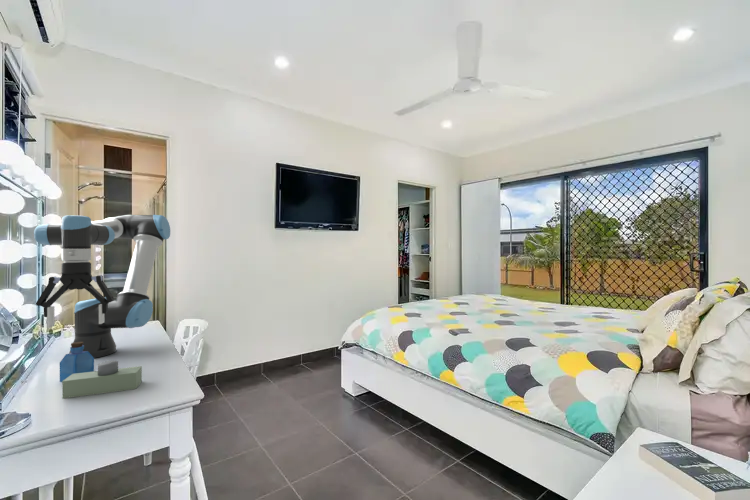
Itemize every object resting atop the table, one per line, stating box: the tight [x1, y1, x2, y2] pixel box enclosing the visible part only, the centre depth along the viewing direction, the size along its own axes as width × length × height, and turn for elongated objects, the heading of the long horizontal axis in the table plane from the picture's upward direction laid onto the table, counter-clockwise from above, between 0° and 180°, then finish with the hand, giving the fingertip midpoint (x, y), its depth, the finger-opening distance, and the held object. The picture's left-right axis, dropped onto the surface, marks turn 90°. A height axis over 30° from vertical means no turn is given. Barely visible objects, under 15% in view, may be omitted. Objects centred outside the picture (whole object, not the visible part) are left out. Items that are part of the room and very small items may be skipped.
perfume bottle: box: [59, 342, 95, 383], centre depth 115 cm, size 6×6×12 cm
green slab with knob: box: [61, 360, 143, 399], centre depth 109 cm, size 15×18×8 cm
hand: (76, 325), depth 115 cm, fingers open, 13 cm apart
